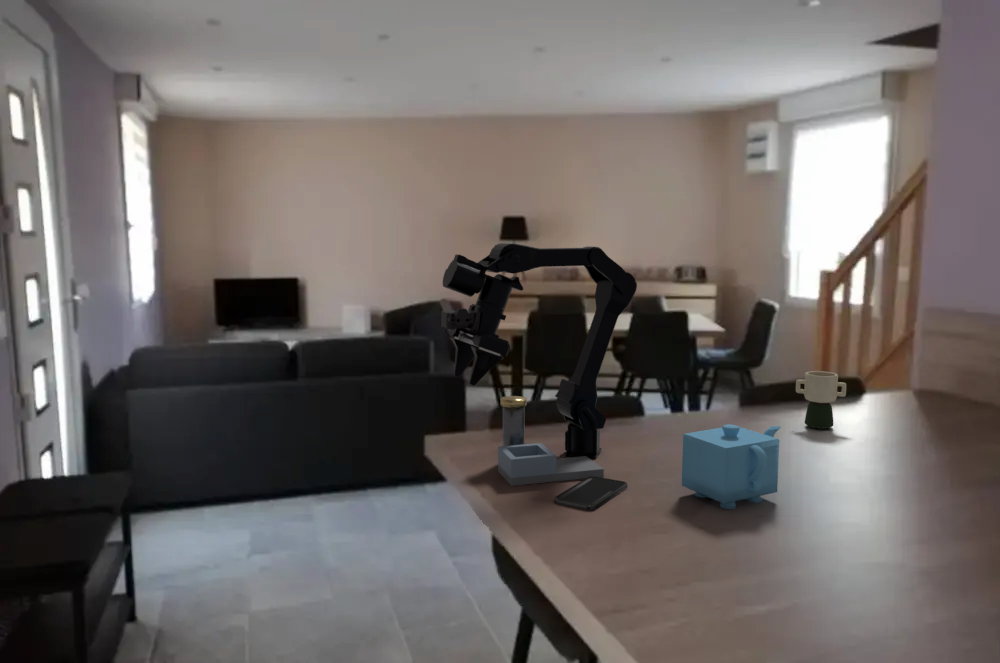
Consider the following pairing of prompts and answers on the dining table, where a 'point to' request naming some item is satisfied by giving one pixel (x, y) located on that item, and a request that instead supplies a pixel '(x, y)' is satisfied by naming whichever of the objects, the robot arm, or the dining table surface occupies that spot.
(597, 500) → the phone
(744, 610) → the dining table surface
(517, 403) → the pin
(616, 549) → the dining table surface
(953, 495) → the dining table surface
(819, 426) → the trophy cup
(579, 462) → the hitch socket
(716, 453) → the teapot
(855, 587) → the dining table surface
